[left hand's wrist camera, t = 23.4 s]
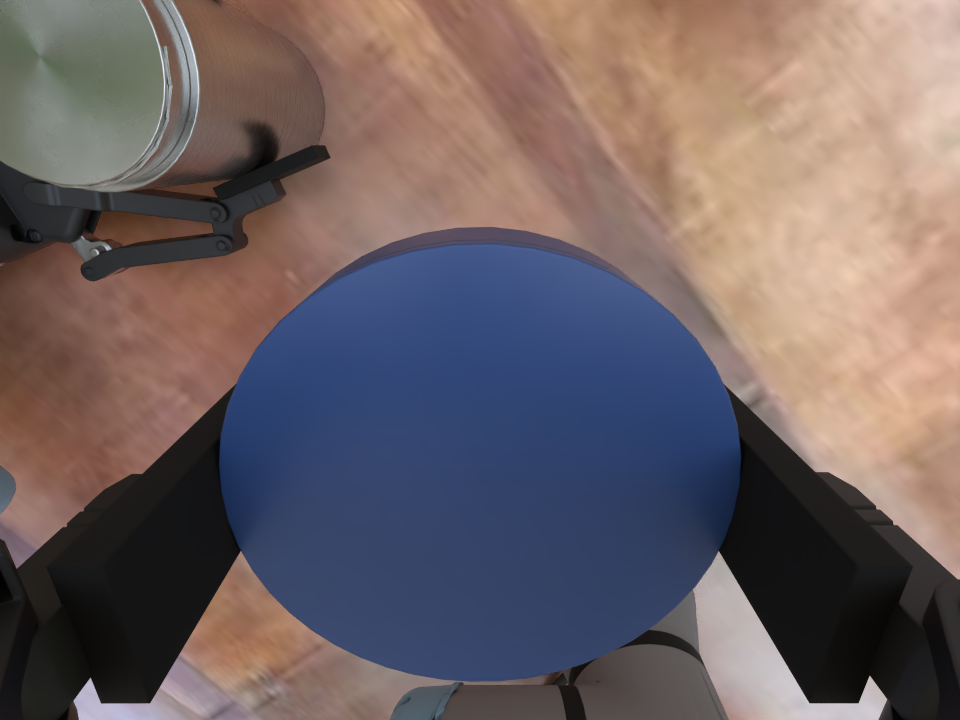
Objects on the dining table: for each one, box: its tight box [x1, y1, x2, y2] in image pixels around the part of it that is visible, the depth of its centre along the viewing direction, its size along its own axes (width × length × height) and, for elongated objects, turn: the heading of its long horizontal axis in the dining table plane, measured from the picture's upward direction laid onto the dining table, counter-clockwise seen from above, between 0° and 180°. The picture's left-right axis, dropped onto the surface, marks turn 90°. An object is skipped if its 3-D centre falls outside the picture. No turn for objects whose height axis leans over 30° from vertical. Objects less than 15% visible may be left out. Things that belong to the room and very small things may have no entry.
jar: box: [0, 0, 324, 192], centre depth 27 cm, size 9×9×19 cm
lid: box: [219, 227, 741, 682], centre depth 11 cm, size 10×10×2 cm
